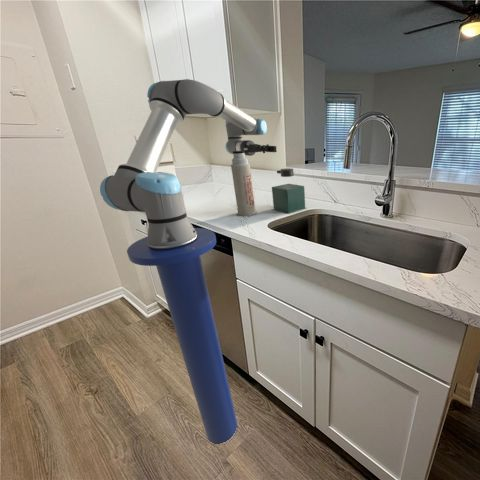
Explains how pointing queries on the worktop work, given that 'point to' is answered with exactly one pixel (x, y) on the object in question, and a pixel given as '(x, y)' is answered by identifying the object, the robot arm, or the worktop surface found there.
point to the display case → (165, 161)
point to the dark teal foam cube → (288, 198)
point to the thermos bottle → (242, 184)
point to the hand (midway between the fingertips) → (275, 149)
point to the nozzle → (286, 172)
